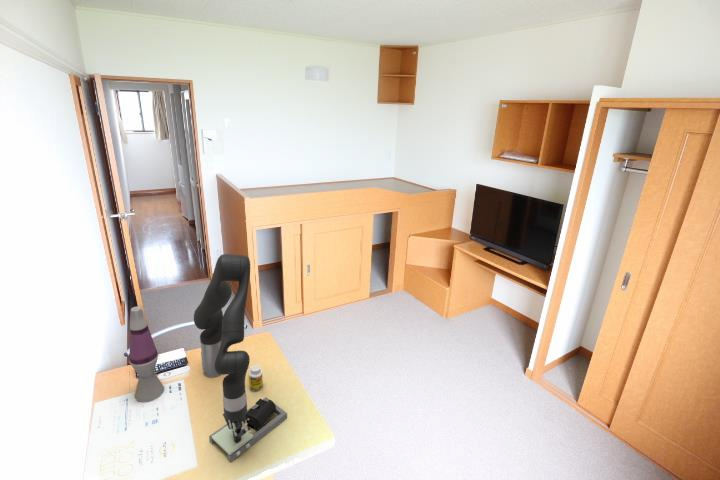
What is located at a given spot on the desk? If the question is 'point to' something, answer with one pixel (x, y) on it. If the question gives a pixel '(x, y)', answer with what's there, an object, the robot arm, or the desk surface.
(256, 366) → the supplement bottle
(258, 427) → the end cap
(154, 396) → the lamp
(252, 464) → the desk surface
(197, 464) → the desk surface
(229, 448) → the lid
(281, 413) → the grey frame
